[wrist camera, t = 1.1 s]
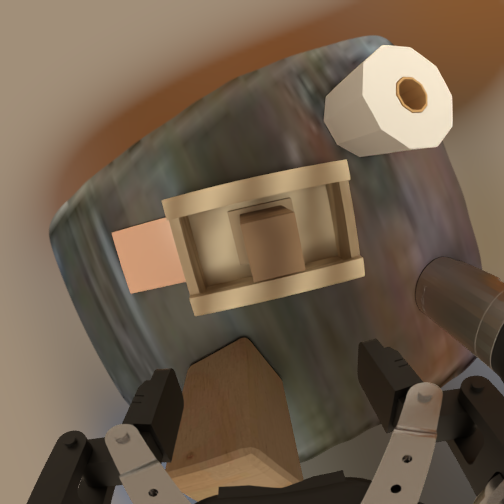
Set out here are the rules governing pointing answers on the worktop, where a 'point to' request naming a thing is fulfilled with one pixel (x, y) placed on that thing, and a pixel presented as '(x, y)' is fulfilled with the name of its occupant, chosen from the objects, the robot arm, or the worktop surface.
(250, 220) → the walnut block
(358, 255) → the crate
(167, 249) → the tile
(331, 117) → the toilet paper
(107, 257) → the worktop surface
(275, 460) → the wooden block
